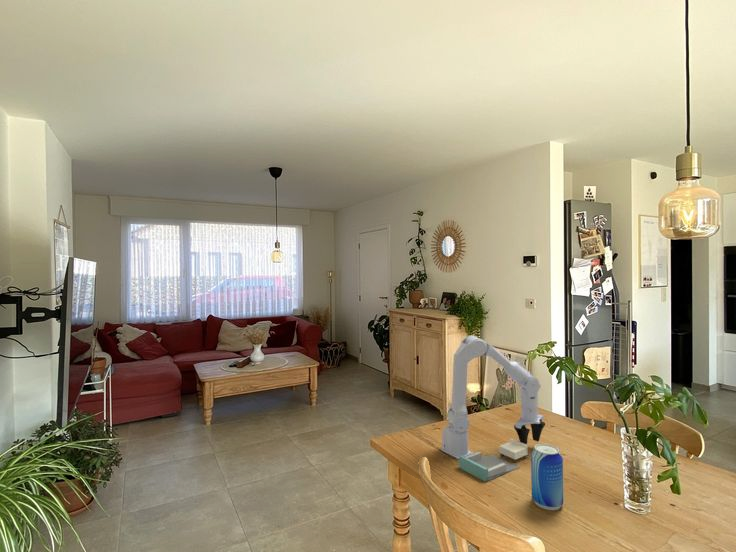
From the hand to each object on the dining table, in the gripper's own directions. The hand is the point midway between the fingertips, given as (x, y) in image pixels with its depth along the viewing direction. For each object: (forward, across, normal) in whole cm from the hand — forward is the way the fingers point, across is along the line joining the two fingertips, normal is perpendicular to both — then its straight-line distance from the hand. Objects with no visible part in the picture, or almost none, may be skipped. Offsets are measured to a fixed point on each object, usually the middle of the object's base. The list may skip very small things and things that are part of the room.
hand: (529, 443), depth 151 cm
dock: (+3, -24, 0) cm, 24 cm away
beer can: (+3, -26, -24) cm, 36 cm away
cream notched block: (+3, -10, 0) cm, 10 cm away
